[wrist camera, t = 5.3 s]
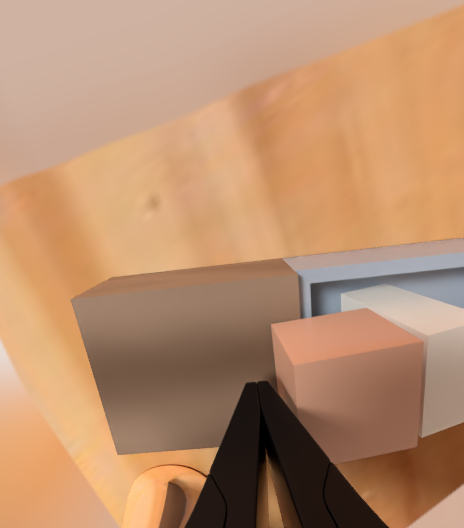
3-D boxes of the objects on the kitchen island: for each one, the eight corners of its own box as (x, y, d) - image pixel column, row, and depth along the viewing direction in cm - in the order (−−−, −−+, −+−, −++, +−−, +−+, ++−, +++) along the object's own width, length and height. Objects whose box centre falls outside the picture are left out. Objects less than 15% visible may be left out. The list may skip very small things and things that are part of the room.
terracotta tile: (366, 390, 10) (417, 446, 7) (279, 407, 10) (302, 471, 7) (366, 307, 9) (423, 341, 7) (270, 324, 9) (293, 365, 6)
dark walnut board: (291, 389, 13) (307, 440, 10) (143, 402, 14) (117, 454, 11) (281, 258, 11) (298, 274, 8) (111, 277, 12) (70, 299, 9)
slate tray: (471, 373, 13) (527, 411, 10) (291, 389, 13) (303, 429, 11) (490, 234, 11) (564, 241, 9) (281, 258, 11) (294, 270, 9)
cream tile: (343, 365, 12) (384, 353, 12) (421, 437, 8) (477, 416, 8) (340, 293, 11) (385, 283, 11) (428, 335, 7) (491, 317, 7)
